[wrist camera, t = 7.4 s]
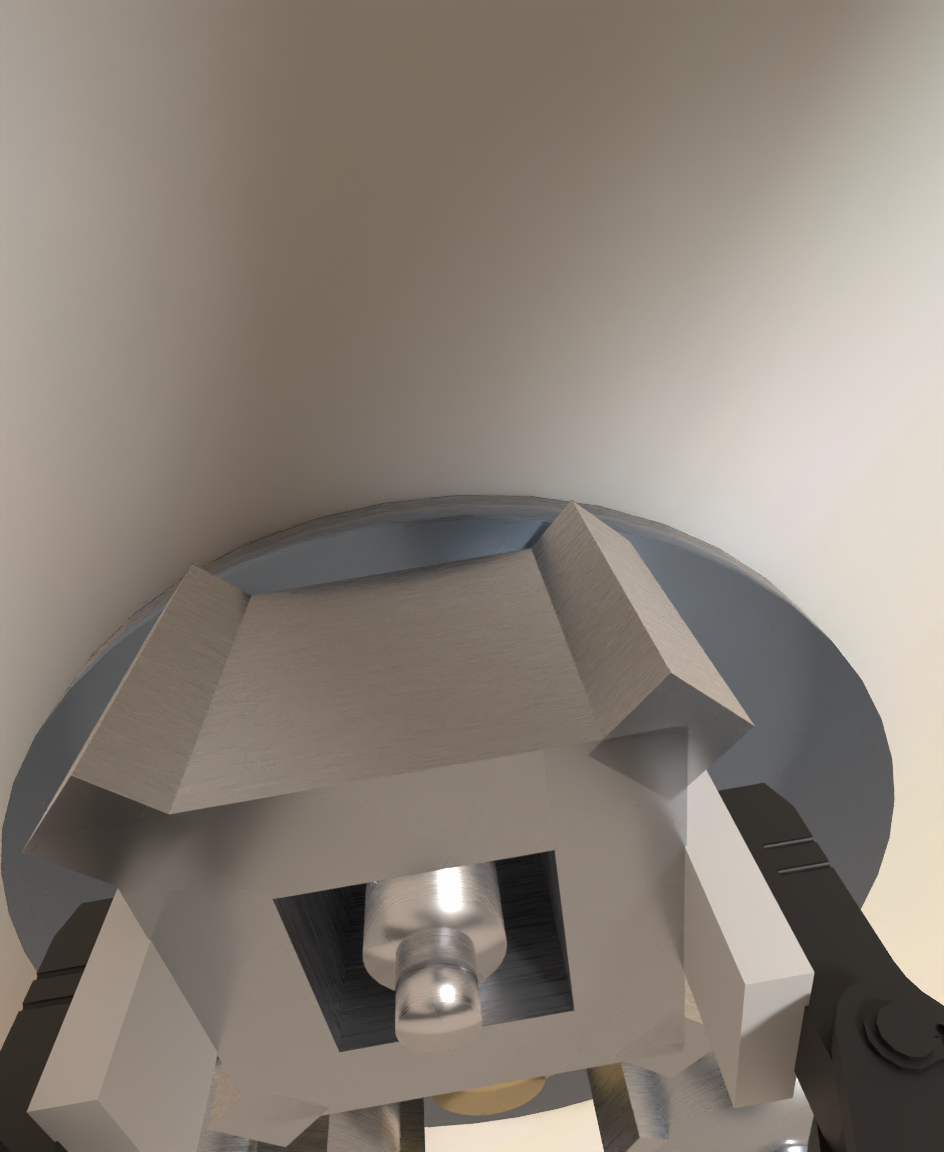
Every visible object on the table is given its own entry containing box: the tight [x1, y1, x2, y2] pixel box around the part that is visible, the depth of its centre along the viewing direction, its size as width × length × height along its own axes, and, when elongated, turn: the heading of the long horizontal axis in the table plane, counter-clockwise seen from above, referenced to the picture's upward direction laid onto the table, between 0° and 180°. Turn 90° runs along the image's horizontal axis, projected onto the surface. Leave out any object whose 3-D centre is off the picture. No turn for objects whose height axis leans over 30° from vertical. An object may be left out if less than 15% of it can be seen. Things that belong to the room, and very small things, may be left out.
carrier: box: [1, 495, 894, 1152], centre depth 16 cm, size 22×22×8 cm
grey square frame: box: [22, 500, 755, 1147], centre depth 12 cm, size 9×9×5 cm
